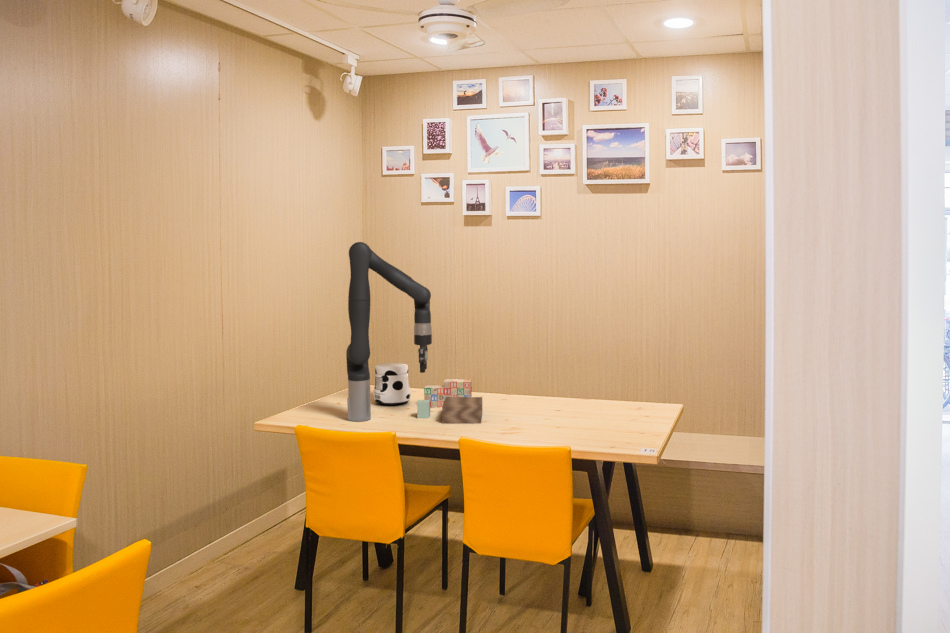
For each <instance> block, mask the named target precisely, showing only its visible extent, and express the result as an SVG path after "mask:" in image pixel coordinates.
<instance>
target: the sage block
mask: <svg viewBox="0 0 950 633" xmlns="http://www.w3.org/2000/svg"><path fill="white" fill-rule="evenodd" d="M416 404H417V405H416V406H417V408H416V409H417V410H416V412H417V415H416V416H417V419H430V418H429V417H431V407H430V400H424V399H418V401H416Z"/></svg>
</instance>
